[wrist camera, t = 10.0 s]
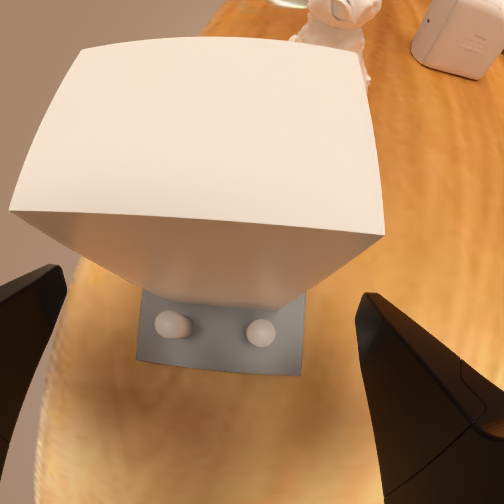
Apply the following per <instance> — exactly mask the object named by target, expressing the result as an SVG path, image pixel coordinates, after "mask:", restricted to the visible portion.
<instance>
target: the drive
mask: <svg viewBox="0 0 504 504" xmlns="http://www.w3.org/2000/svg"><path fill="white" fill-rule="evenodd" d="M9 211H10V212H12V213H13V214H15V215H16V216H18V217H19V218H21V219H23V220H24V221H26V222H28V223H29V224H30V225H32V226H34V227H35V228H37V229H39V230H40V231H42V232H43V233H45V234H46V235H48V236H50V237H51V238H53V239H55V240H56V241H58V242H60V243H61V244H63V245H65V246H67V247H68V248H70V249H72V250H73V251H75V252H77V253H78V254H80V255H82V256H84V257H85V258H87V259H89V260H91V261H92V262H94V263H96V264H98V265H100V266H101V267H103V268H105V269H107V270H109V271H111V272H112V273H114V274H116V275H118V276H120V277H122V278H124V279H125V280H127V281H129V282H131V283H133V284H135V285H137V286H139V287H141V288H143V289H145V290H147V291H149V292H151V293H153V294H154V295H156V296H158V297H160V298H162V299H164V300H167V301H170V302H180V303H189V304H200V305H210V306H221V307H233V308H246V309H259V310H274V311H279V310H280V309H282V308H283V307H285V306H286V305H288V304H289V303H291V302H292V301H294V300H295V299H297V298H298V297H299V296H301V295H302V294H304V293H305V292H307V291H308V290H310V289H311V288H313V287H314V286H316V285H317V284H318V283H320V282H321V281H323V280H324V279H326V278H327V277H328V276H330V275H331V274H333V273H334V272H336V271H337V270H338V269H340V268H341V267H343V266H344V265H345V264H347V263H348V262H350V261H351V260H352V259H354V258H355V257H356V256H358V255H359V254H361V253H362V252H363V251H365V250H366V249H367V248H369V247H370V246H371V245H373V244H374V243H375V242H377V241H378V240H379V239H381V238H382V237H383V236H385V228H384V214H383V203H382V192H381V183H380V174H379V166H378V159H377V152H376V145H375V138H374V132H373V126H372V121H371V115H370V110H369V105H368V100H367V95H366V90H365V85H364V81H363V76H362V72H361V68H360V64H359V60H358V56H357V53H355V52H350V51H345V50H340V49H335V48H330V47H324V46H318V45H312V44H305V43H298V42H290V41H281V40H271V39H258V38H242V37H179V38H163V39H152V40H141V41H132V42H124V43H118V44H110V45H104V46H98V47H93V48H88V49H83V50H81V52H80V53H79V55H78V57H77V58H76V60H75V61H74V63H73V64H72V66H71V68H70V69H69V71H68V73H67V75H66V76H65V78H64V80H63V82H62V83H61V85H60V87H59V89H58V91H57V92H56V94H55V96H54V98H53V100H52V102H51V104H50V106H49V108H48V110H47V112H46V114H45V116H44V118H43V120H42V122H41V125H40V127H39V129H38V131H37V133H36V136H35V138H34V140H33V143H32V145H31V147H30V150H29V152H28V155H27V158H26V160H25V163H24V166H23V168H22V171H21V173H20V176H19V179H18V182H17V185H16V188H15V191H14V194H13V197H12V201H11V204H10V207H9Z"/></svg>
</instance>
